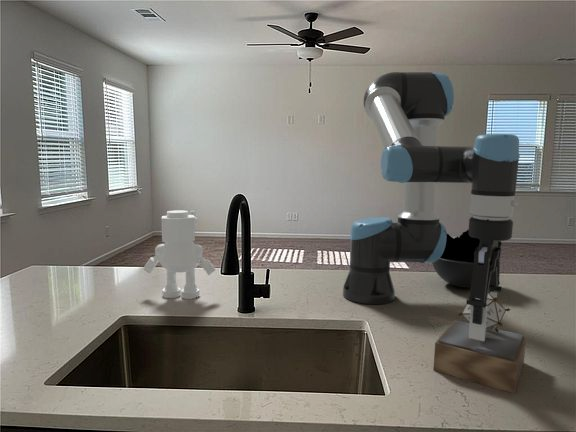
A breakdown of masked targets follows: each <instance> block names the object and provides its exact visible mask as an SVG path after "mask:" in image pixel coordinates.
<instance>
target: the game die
mask: <svg viewBox="0 0 576 432" xmlns="http://www.w3.org/2000/svg"><path fill="white" fill-rule="evenodd" d="M490 292H491V291H490V289H489V290H488V296H487V306H488V307H487V320H486V331H487V330H493V329H495V331H496V332H498V331H499V330H500V329H499V328H498V327H499V326H500V327H503V323H502V320H503V317H504V315H505V314H506V311H507V312H510V311H511V309H510V308H509V307H508V308H505V307H504V306H503V304H501V303H500V302H499V301H498V297H497V298H496V297H495V298H494V297H493V296H492V295H491V294H490ZM468 295H469V296H470V291H468ZM475 299H477V298H475ZM479 300H480V299H479ZM466 301H469V298H468V299H466ZM470 311H471V305H468V304H465V306H464V308H463V310H462V312H458V313H457V316H459V317H460V316H462V317H463V318H464V319H465V320H466V321H467V323H470ZM498 329H499V330H498Z"/></svg>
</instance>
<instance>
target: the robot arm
mask: <svg viewBox="0 0 576 432" xmlns="http://www.w3.org/2000/svg"><path fill="white" fill-rule="evenodd" d="M454 98H455V95H454V87H453V83H452V81H451V79H450V78H449V76H448V74H447V75H446V74H445V73H439V72H433V71H430V72H423V71H422V72H420V71H419V72H418V71H417V72H416V71H413V72H411V71H409V72H408V71H407V72H399V71H392V72H387V73H385V74H382V75H380V76H378V77H377V78H376V79H374V80H373V81H372V82H371V83H370V84H369V85H368V87H367V89H366V90H365V92H364V96H363V108H364V111H365V113H366V115H367V116H368V117H369V118H370V119H371V120H373V123H374V124H375V127H376V129H377V132H378V135H379V137H380V139H381V142H382V145H383V147H384V149H382V150H383V151H382V153H381V158H380V169H381V176H382V178H383V180H385V181H386V182H392V183H393V182H394V183H401V184H404V190H403V191H404V194H403V196H404V197H403V210H402V212H400V213H399V214H398V215H397V222H393V220H392V218H390V217H386V216H385V217H384V216H382V217H380V216H378V217H377V216H376V217H375V216H374V217H366V218H362V219H358V220H356V221H354V222H353V223H352V224H351V229H350V236H349V239H350V246H349V247H350V248H349V249H350V250H349V254H350V255H349V271H348V274H347V276H346V279H345V282H344V284H343V289H342V295H343V297H344V298H345V299H346V300H349V301H351V302H353V303H354V302H355V303H358V304H363V305H364V304H365V305H366V304H367V305H384V304H388V303H391V302H393V301H394V300H395V297H396V296H395V294H396V292H395V286H394V284H393V283H394V282H393V280H392V276H391V269H390V268H391V267H390V266H391V263H420V264H425V263H432V262H435V261H437V260H438V259H439V258H440V257H441V256H442V254H443V252H444V249H445V246H446V238H447V235H446V233H447V229H446V227H445V225H444V224H443V223H442V222H440V216H439V215H438V214H437V213H436V212H435V206H436V205H435V203H436V183H447V184H448V183H454V184H455V183H457V184H458V183H460V184H471V189H470V190H471V191H470V200H469V214H470V215H471V216H470V218H469V219H468V229H469V230H468V229H467V230H468V234H469V236H471V237H473V238H478V239H479V240H480V243H479V246H478V247H476V250H475V252H474V265H473V273H472V281H471V287H470V289H469V290H470V291H469V292H470V295H469V296H468V297H469V298H468V300H469V301H467V300H465V301H466V304H468V305H471V311H470V325H469V338H472V339H476V340H480V341H485V332H486V320H487V307H488V306H487V296H488V290H489V289H490V291H491V292H490V294H491V295H492V296H493V297H494V298H495V297H496V298H497V299H498V292H499V293H501V292H502V290H503V289H502V287H503V286H500V284H501V283H500V274H501V269H500V268H501V254H502V245H503V243H502V242H503V241H504V242H505V241H510V240H511V239H512V237H513V230H514V229H513V228H514V227H513V226H514V221H513V220H512V219H510V218H512V217H513V216H514V211H515V207H517V206H519V202H518V201H517V200H515V198H516V197H515V196H516V192H517V191H516V190H517V179H518V171H519V170H518V169H519V161H520V138H519V137H518V136H517V135H516V134H509V133H507V134H505V133H501V134H500V133H491V134H488V133H487V134H479V135H478V136H476V138H475V139H474V140H475V141H474V145H473V146H471V145H469V146H465V145H464V146H453V145H452V146H450V145H449V146H448V145H447V146H443V145H442V146H438V145H439V143H438V139H439V136H438V135H439V127H440V126H441V125H442V124H443V123H444V122H445V117H446V116H449V115H450V114H451V112H452V110H453V105H454V103H455V102H454V101H455V100H454ZM475 298H477V299H475ZM479 299H480V300H479ZM466 304H465V305H466Z"/></svg>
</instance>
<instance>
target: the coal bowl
mask: <svg viewBox="0 0 576 432" xmlns="http://www.w3.org/2000/svg"><path fill="white" fill-rule="evenodd" d="M468 230H469V228H468V229H467V230H465V231H463V232H462V233H461V234H460V235H459V236H455V238H454V237H452V236H451V235H450V234H449V233H447V232H446V235H447V238H446V246H445V249H444V252H443V254H442V256H441V257H440V258H439V259H438V260H437V261H435V262H431V264H432V267H433V269H434V271H435V272H436V275H438V276H439V277H440V278H441V279H442V280H443V281H444V282H446V283H448V284H450V285H452V286H455V287H459V288H471V281H472V273H473V265H474V252H475V250H476V247H478V246H479V243H480V240H479V239H478V238H473V237H471V236H469V234H468Z"/></svg>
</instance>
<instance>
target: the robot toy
mask: <svg viewBox="0 0 576 432" xmlns="http://www.w3.org/2000/svg"><path fill="white" fill-rule="evenodd" d="M198 225H199V219H198V217H197V216H195V214H194V215H193V214H189V210H183V209H181V210H179V209H178V210H174V209H173V210H167V211H166V215H162V216H161V242H162V243H160V244H157V245H156V247H155V248H154V252H155V255H154V256H152V257H151V256H150V258H149V259H148V260H147V262H146V263H145V264H144V267H143V271H145V273H148V274H151V273H152V272H153V270H154V269H155V268H156V266H158V263H159V264H160V265H161V267H162V268H163V269H165V270H166V283H165V286H164V288H162V297H163V298H165V299H175V298H179V297H180V296H181V297H180V298H182V299H185V300H192V298H194V299H197V298H199V297H200V296H199V295H200V288H198V286H197V284H196V278H195V275H196V273H195V270H196V268H197V267H198V266H199V264H200V266H201V267H202V269H203V270H204V271H205V272H206V274H207V275H208V276H210V275H211V274H212V273H214V272H215V271H216V268H215V266H214V265H213V263H212V262H211V261H210V260H209V259H208V258H206V259H205V258H204V256H203V253H204V249H203V247H202V246H201V245H200V244H198V243H194V241H196V234H195V232H196V230H195V228H196V226H198ZM177 273H185V284H184V286H183V288H182V289H181V287H179V286H178V285H179V284H178V282H177V275H176V274H177ZM198 296H199V297H198ZM196 297H197V298H196Z"/></svg>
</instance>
